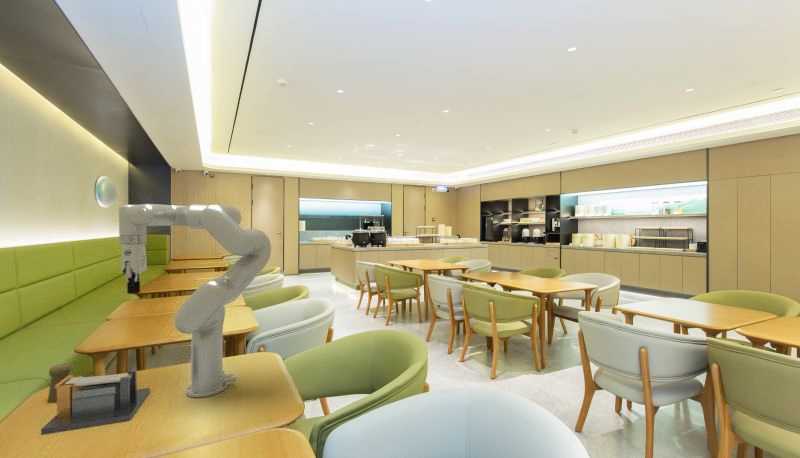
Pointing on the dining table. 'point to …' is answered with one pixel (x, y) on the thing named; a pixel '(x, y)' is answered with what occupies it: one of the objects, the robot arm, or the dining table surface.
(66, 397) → the heat sink base
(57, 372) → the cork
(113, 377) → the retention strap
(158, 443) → the dining table surface
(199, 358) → the robot arm
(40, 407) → the dining table surface
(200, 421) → the dining table surface
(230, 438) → the dining table surface
